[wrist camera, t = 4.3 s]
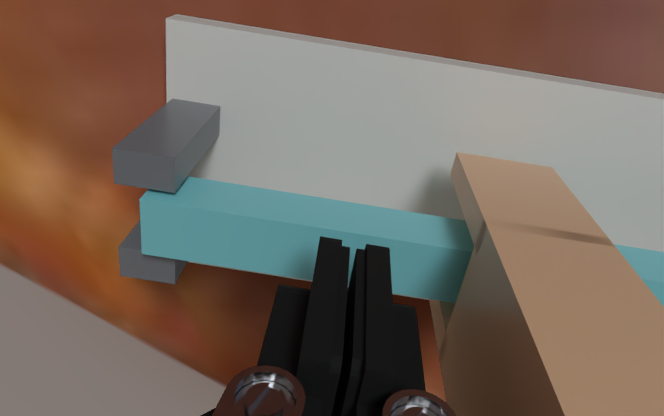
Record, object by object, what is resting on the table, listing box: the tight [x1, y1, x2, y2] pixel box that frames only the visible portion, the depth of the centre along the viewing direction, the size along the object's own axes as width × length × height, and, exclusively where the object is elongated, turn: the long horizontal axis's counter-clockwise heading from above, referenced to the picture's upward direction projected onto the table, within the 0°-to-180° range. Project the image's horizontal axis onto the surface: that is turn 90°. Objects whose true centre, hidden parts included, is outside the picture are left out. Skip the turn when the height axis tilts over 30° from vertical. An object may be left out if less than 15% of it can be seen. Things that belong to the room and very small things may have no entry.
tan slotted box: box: [429, 152, 664, 416], centre depth 12 cm, size 3×4×10 cm
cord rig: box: [112, 14, 664, 307], centre depth 16 cm, size 24×9×7 cm, turn 82°
